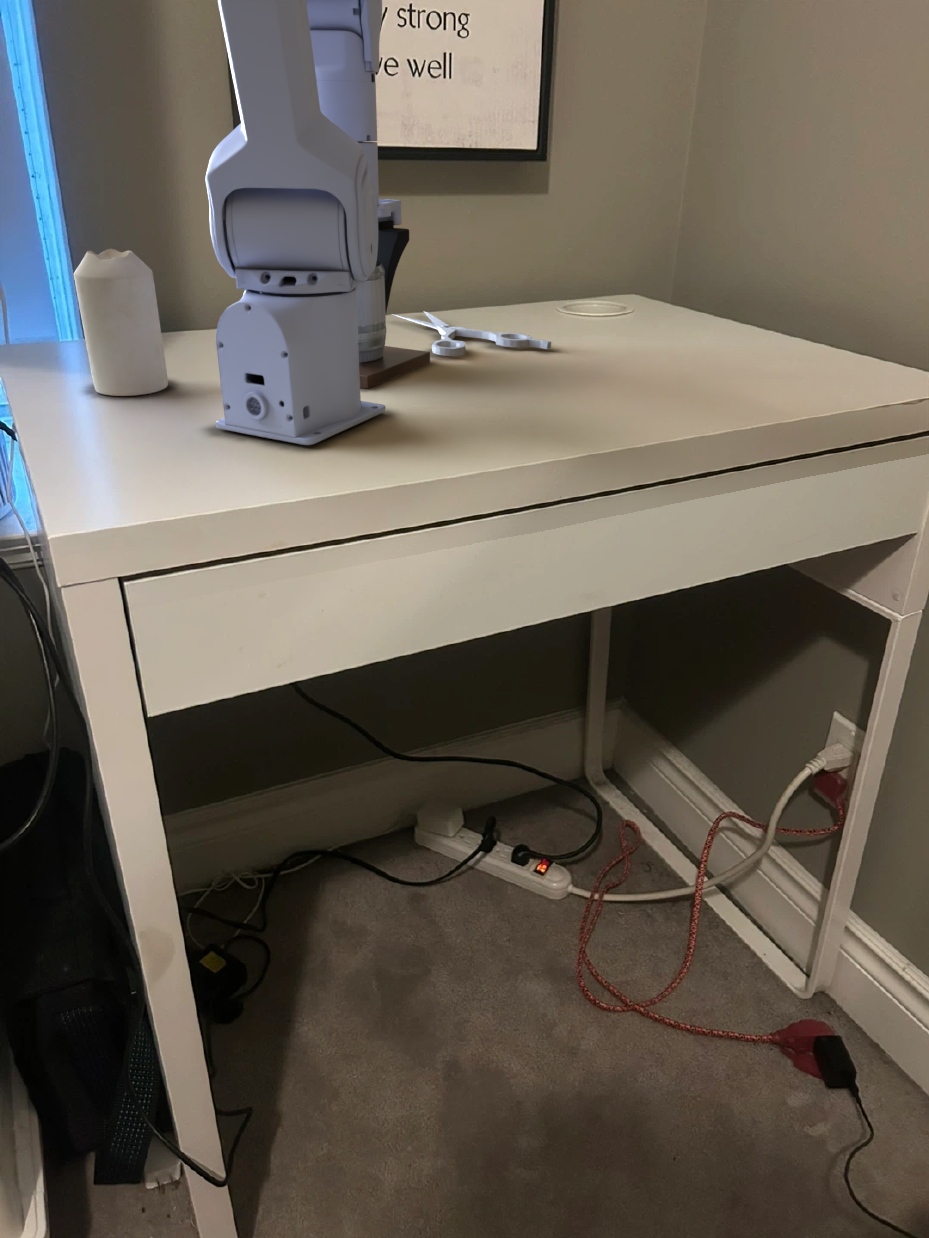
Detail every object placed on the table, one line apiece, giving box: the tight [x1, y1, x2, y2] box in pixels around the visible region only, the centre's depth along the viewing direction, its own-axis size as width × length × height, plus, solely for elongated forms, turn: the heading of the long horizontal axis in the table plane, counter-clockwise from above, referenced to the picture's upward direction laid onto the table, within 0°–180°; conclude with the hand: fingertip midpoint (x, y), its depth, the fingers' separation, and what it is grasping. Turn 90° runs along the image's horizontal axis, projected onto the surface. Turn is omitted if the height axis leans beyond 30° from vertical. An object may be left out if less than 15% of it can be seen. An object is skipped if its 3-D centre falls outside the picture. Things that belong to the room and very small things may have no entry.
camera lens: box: [356, 261, 387, 363], centre depth 76 cm, size 6×6×8 cm
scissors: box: [391, 310, 552, 357], centre depth 90 cm, size 11×1×20 cm
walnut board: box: [359, 345, 431, 390], centre depth 78 cm, size 10×10×1 cm
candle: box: [73, 248, 169, 397], centre depth 69 cm, size 6×6×10 cm
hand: (348, 325), depth 76 cm, fingers open, 7 cm apart
